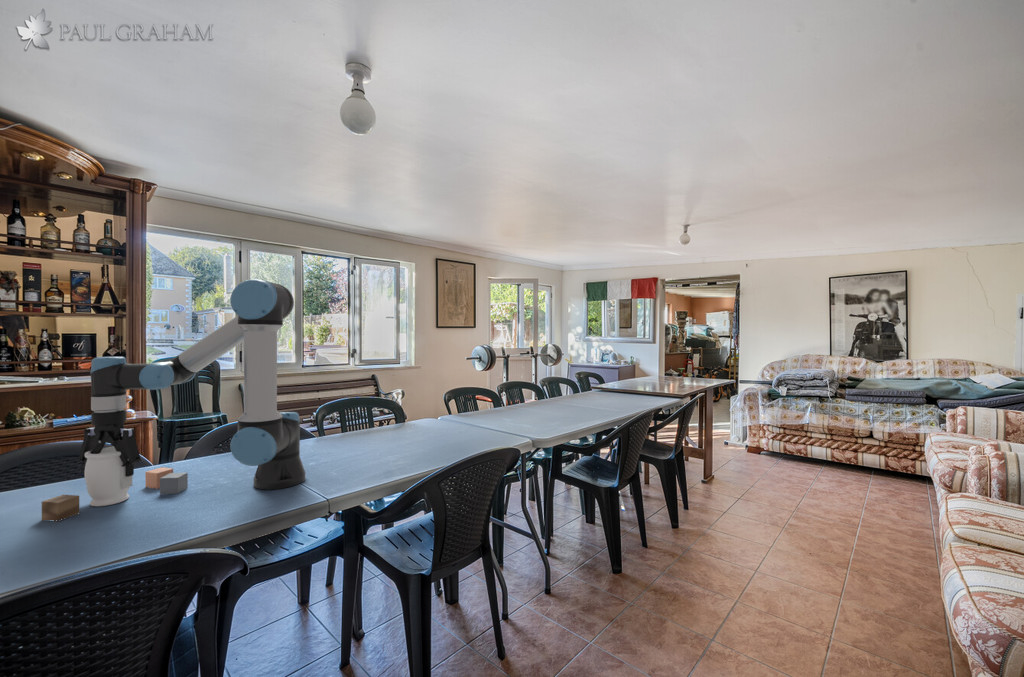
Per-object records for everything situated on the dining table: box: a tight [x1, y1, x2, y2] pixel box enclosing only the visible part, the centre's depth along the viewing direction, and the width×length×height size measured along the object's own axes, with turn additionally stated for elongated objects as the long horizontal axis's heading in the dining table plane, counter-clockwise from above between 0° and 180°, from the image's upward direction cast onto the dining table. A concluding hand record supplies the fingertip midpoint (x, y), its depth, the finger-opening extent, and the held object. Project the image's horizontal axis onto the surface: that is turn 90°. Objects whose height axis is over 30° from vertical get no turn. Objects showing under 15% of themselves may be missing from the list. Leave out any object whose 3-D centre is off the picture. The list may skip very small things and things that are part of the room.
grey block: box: [159, 472, 189, 495], centre depth 137 cm, size 5×5×5 cm
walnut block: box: [41, 494, 80, 522], centre depth 118 cm, size 5×5×5 cm
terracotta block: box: [145, 466, 174, 490], centre depth 142 cm, size 5×5×5 cm
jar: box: [84, 446, 134, 507], centre depth 128 cm, size 11×10×15 cm
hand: (109, 486), depth 128 cm, fingers closed on jar, 10 cm apart
